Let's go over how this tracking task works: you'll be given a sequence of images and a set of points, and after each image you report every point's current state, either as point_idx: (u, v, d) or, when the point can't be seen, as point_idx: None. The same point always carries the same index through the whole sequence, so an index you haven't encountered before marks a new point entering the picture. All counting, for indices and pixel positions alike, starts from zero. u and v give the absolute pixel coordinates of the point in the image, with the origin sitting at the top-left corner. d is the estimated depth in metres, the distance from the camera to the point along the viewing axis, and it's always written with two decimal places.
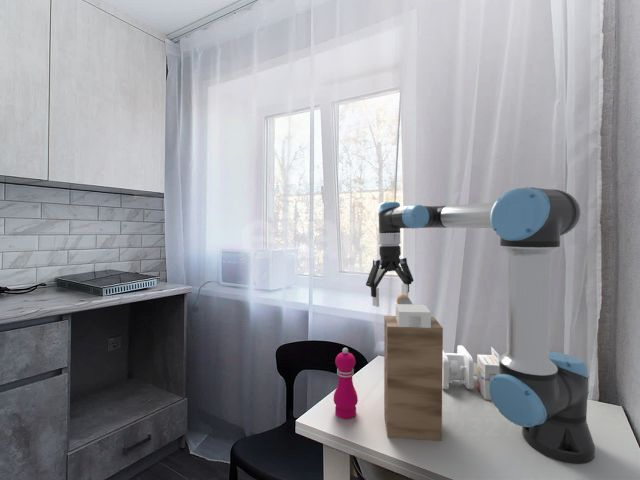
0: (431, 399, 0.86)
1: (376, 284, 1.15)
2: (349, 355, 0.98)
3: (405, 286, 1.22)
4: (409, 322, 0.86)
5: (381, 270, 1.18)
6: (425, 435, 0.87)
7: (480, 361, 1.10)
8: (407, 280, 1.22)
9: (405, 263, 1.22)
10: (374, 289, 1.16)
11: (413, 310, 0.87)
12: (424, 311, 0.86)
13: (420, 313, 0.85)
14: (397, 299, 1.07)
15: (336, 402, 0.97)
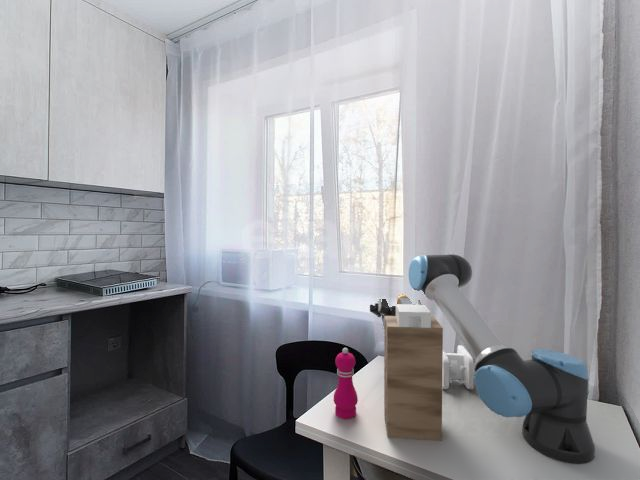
0: (431, 399, 0.86)
1: None
2: (349, 355, 0.98)
3: None
4: (409, 322, 0.86)
5: None
6: (425, 435, 0.87)
7: None
8: None
9: None
10: None
11: (413, 310, 0.87)
12: (424, 311, 0.86)
13: (420, 313, 0.85)
14: (397, 299, 1.07)
15: (336, 402, 0.97)
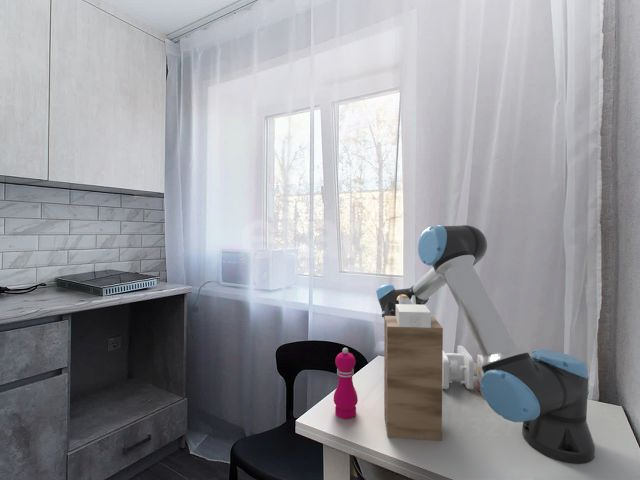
0: (431, 399, 0.86)
1: None
2: (349, 355, 0.98)
3: None
4: (409, 322, 0.86)
5: None
6: (425, 435, 0.87)
7: (480, 361, 1.10)
8: None
9: None
10: None
11: (413, 310, 0.87)
12: (424, 311, 0.86)
13: (420, 313, 0.85)
14: (397, 299, 1.07)
15: (336, 402, 0.97)
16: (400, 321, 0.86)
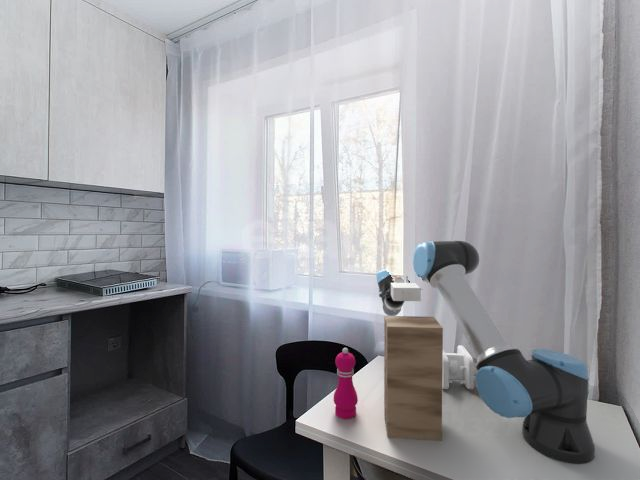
0: (431, 399, 0.86)
1: None
2: (349, 355, 0.98)
3: None
4: (402, 296, 1.00)
5: None
6: (425, 435, 0.87)
7: None
8: None
9: None
10: None
11: (405, 286, 1.01)
12: (415, 287, 1.00)
13: (411, 289, 0.99)
14: (392, 280, 1.21)
15: (336, 402, 0.97)
16: (394, 296, 1.00)
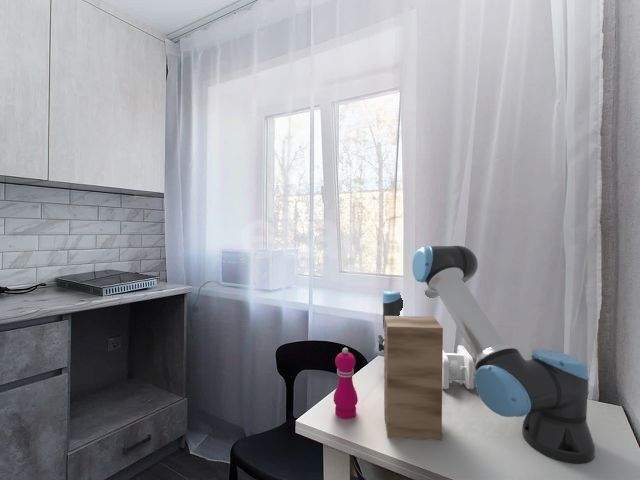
0: (431, 399, 0.86)
1: None
2: (349, 355, 0.98)
3: None
4: None
5: None
6: (425, 435, 0.87)
7: None
8: None
9: None
10: None
11: None
12: None
13: None
14: None
15: (336, 402, 0.97)
16: None
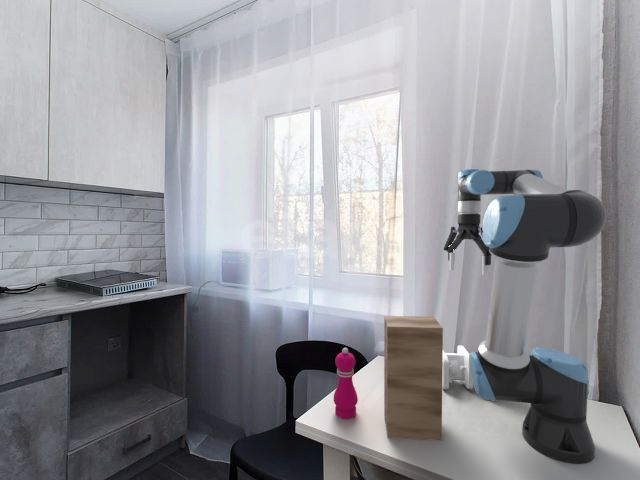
0: (431, 399, 0.86)
1: (449, 249, 1.26)
2: (349, 355, 0.98)
3: None
4: None
5: None
6: (425, 435, 0.87)
7: None
8: (484, 251, 1.13)
9: (482, 233, 1.14)
10: (449, 253, 1.27)
11: None
12: None
13: None
14: None
15: (336, 402, 0.97)
16: None
